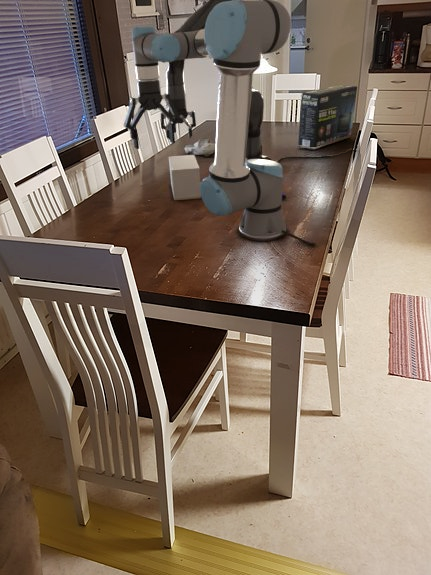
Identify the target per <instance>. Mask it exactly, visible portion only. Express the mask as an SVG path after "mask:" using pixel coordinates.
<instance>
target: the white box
mask: <svg viewBox="0 0 431 575" xmlns="http://www.w3.org/2000/svg"><path fill="white" fill-rule="evenodd" d="M168 162H169V163H168V164H169V174H170V176H169V177H170V186H171V191H172V196H173V201H183V200H196V199H202V197H201V192H200V184H201V176H200V174H201V173H200V166H199V164H198V161H197V159H196V155H195V154H186V155H173V156H172V155H171V156H168Z"/></svg>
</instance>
